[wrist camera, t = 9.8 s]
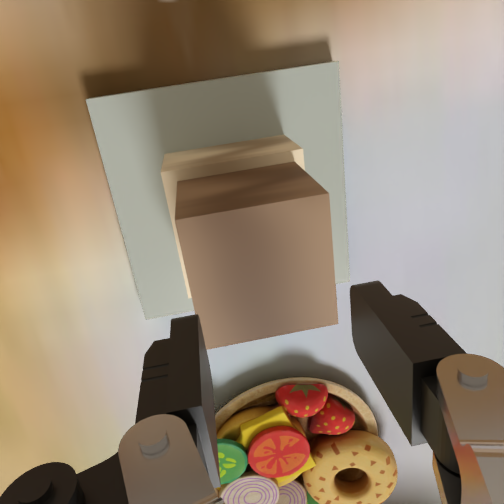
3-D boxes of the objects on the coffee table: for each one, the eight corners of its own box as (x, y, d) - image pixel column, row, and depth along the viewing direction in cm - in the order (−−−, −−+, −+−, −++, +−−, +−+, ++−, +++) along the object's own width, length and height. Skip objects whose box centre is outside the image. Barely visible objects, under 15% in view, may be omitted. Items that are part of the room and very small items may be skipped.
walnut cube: (294, 161, 19) (329, 193, 14) (305, 266, 21) (338, 323, 16) (177, 181, 19) (174, 220, 14) (199, 286, 21) (203, 350, 16)
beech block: (283, 134, 22) (303, 148, 19) (295, 243, 25) (314, 275, 21) (164, 153, 22) (160, 172, 18) (187, 263, 24) (188, 298, 21)
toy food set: (397, 460, 35) (416, 497, 32) (246, 532, 36) (251, 575, 33) (332, 336, 29) (349, 367, 26) (156, 424, 30) (153, 464, 27)
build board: (332, 61, 22) (338, 61, 21) (344, 274, 27) (349, 281, 26) (89, 97, 22) (85, 99, 21) (146, 310, 26) (145, 319, 25)
